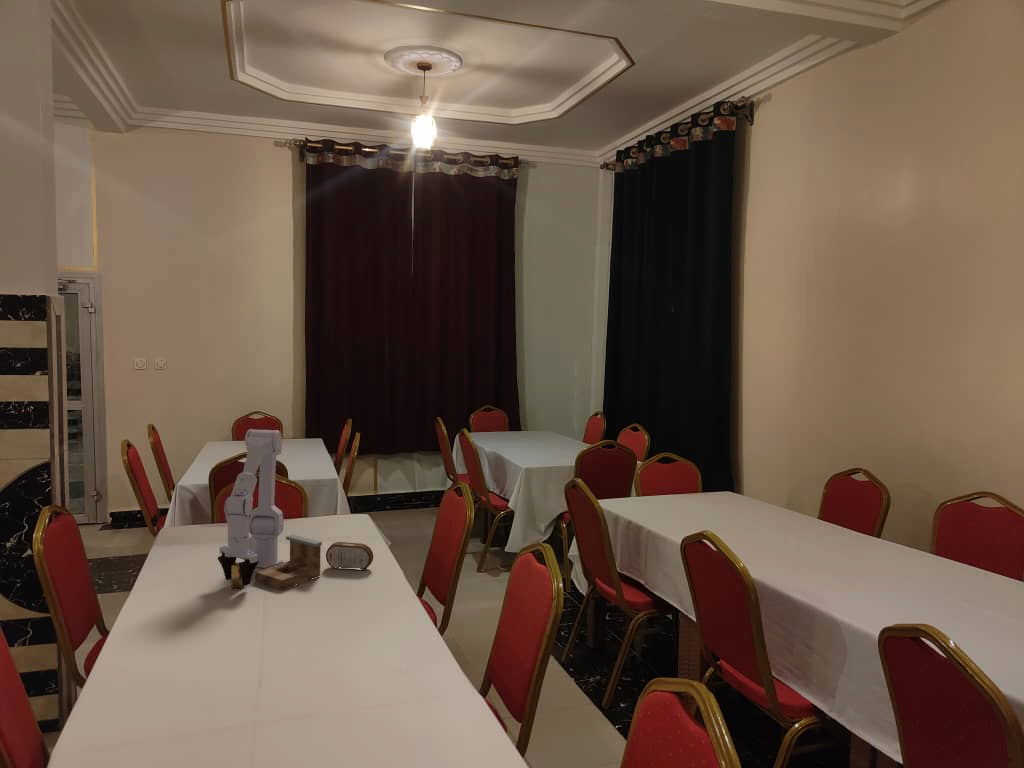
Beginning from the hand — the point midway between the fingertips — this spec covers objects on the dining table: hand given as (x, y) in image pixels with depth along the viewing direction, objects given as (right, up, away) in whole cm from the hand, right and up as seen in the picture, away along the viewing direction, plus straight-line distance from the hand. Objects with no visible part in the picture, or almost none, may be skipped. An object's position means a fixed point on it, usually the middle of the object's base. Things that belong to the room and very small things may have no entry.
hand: (238, 581), depth 206 cm
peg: (0, -2, 0) cm, 2 cm away
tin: (+28, -2, +19) cm, 34 cm away
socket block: (+12, -2, +8) cm, 14 cm away
